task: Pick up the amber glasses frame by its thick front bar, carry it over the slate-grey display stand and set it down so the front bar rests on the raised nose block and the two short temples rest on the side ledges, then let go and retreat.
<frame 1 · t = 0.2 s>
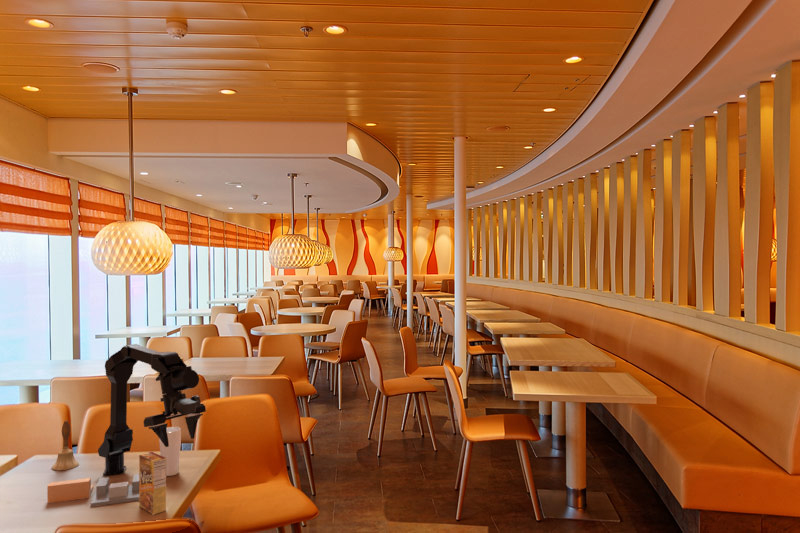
hand: (180, 442, 177), 15 cm above the table, tool pointing down, fingers open, 9 cm apart
display stand: (119, 496, 174), on the table
glasses: (69, 498, 173), on the table
hand bell: (65, 467, 200), on the table
candy box: (152, 509, 165), on the table
drinking glass: (170, 474, 193), on the table
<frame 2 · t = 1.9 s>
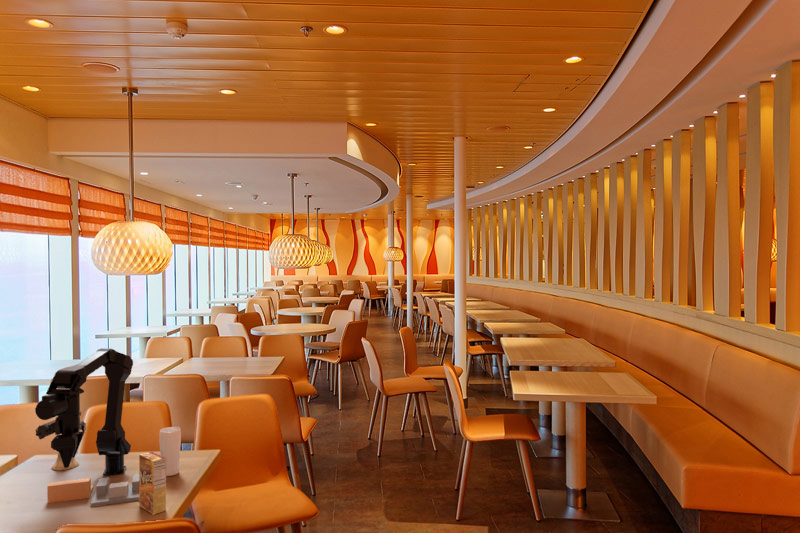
hand: (69, 462, 173), 11 cm above the table, tool pointing down, fingers open, 9 cm apart
nothing on the table moved.
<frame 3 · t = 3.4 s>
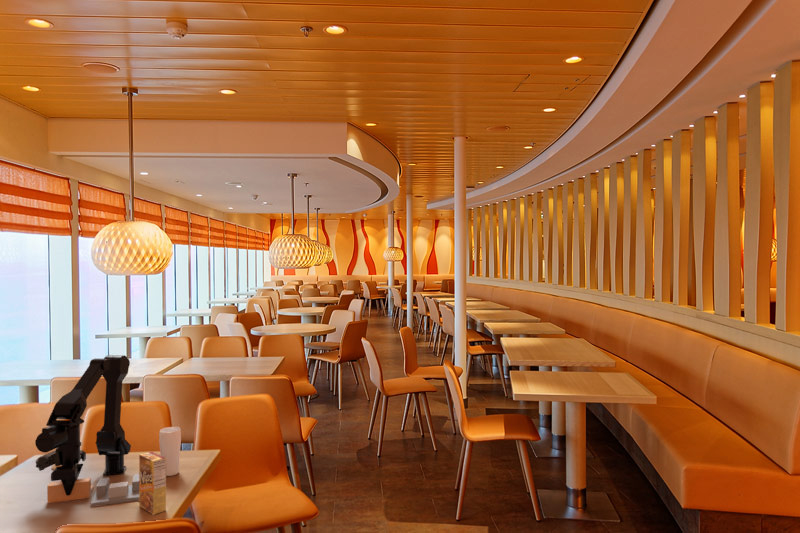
hand: (69, 493, 173), 2 cm above the table, tool pointing down, fingers closed on glasses, 3 cm apart
glasses: (69, 498, 173), on the table, touching gripper
everything else where it was.
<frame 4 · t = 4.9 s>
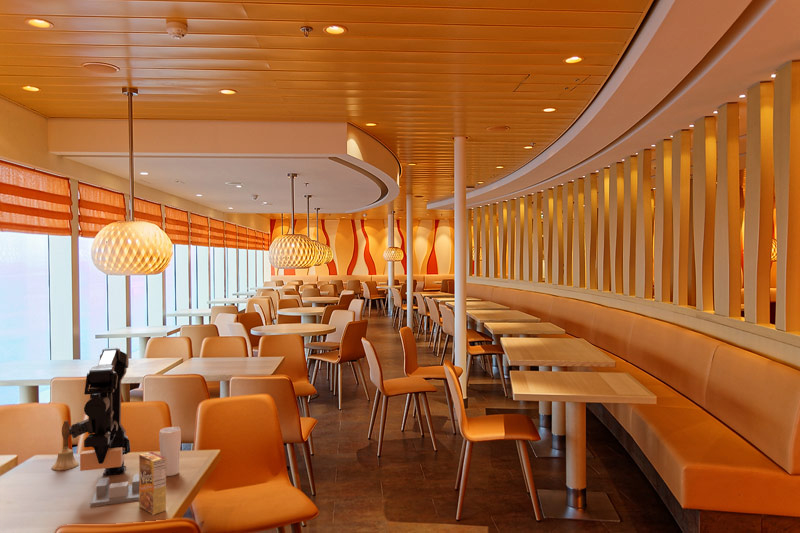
hand: (102, 461, 172), 11 cm above the table, tool pointing down, fingers closed on glasses, 3 cm apart
glasses: (101, 467, 172), point 10 cm above the table, touching gripper
everything else where it was.
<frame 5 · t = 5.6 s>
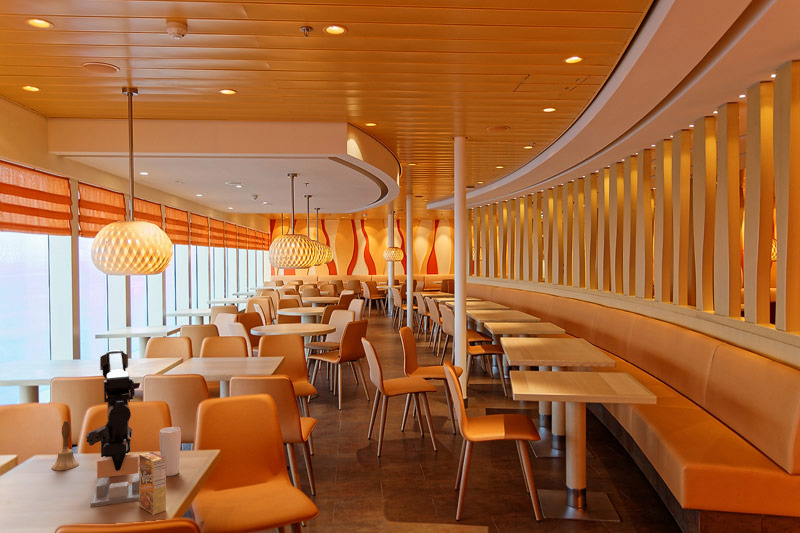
hand: (118, 468, 173), 9 cm above the table, tool pointing down, fingers closed on glasses, 3 cm apart
glasses: (118, 473, 173), point 7 cm above the table, touching gripper
everything else where it was.
when the fingers open (7 cm above the table, at t = 6.2 s): glasses stays where it is, resting on display stand.
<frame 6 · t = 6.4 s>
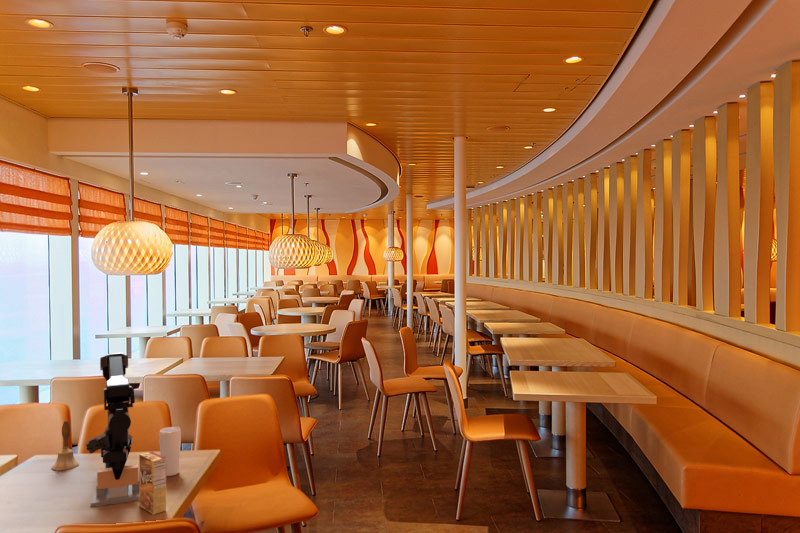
hand: (118, 476, 173), 7 cm above the table, tool pointing down, fingers open, 5 cm apart
glasses: (118, 484, 173), point 4 cm above the table, touching display stand
everything else where it was.
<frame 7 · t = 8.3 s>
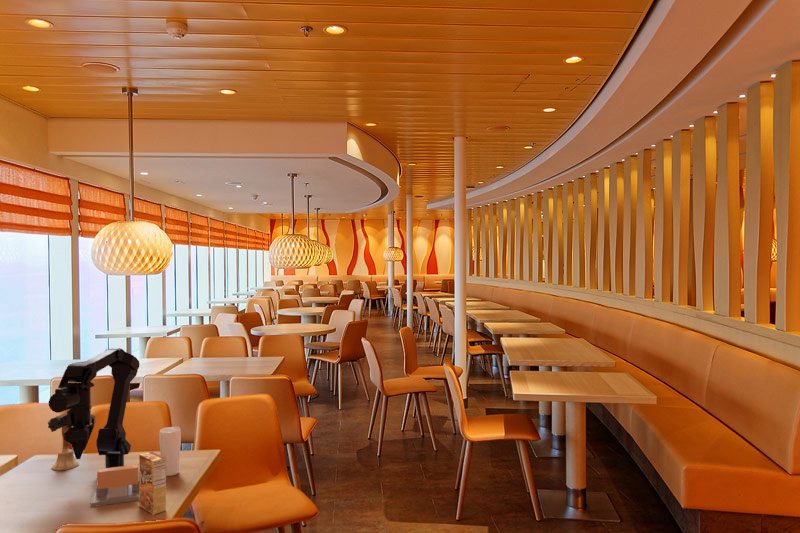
hand: (80, 454, 177), 12 cm above the table, tool pointing down, fingers open, 9 cm apart
nothing on the table moved.
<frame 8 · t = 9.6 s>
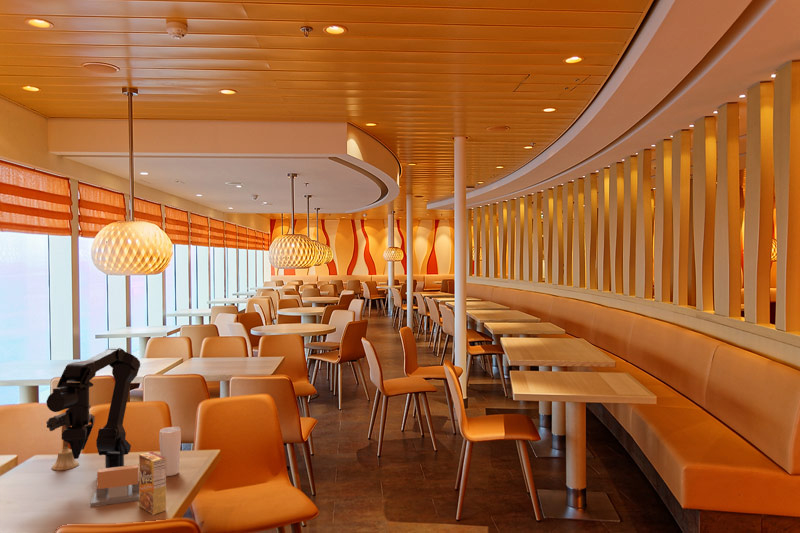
hand: (79, 454, 177), 12 cm above the table, tool pointing down, fingers open, 9 cm apart
nothing on the table moved.
at the end: glasses 0.1 cm from the target spot on the display stand, point 4.0 cm above the display stand's base; glasses tilted 0°; the gripper is holding nothing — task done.
